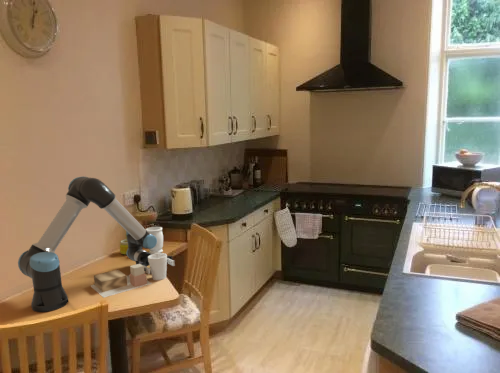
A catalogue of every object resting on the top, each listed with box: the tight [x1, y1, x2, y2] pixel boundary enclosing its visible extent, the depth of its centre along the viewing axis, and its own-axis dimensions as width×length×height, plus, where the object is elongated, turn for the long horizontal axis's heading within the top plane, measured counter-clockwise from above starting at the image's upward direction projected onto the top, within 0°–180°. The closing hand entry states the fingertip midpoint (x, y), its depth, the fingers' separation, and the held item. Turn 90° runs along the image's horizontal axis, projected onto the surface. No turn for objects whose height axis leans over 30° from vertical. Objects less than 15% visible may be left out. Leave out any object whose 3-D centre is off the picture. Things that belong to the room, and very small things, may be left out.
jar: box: [144, 226, 164, 254], centre depth 269 cm, size 11×10×15 cm
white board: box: [90, 274, 153, 299], centre depth 214 cm, size 24×20×2 cm
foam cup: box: [148, 252, 168, 281], centre depth 219 cm, size 10×9×13 cm
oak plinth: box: [93, 269, 127, 292], centre depth 213 cm, size 12×12×5 cm
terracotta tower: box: [129, 263, 148, 287], centre depth 213 cm, size 6×6×9 cm
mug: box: [119, 235, 128, 256], centre depth 272 cm, size 13×11×12 cm
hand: (161, 267), depth 218 cm, fingers open, 13 cm apart
